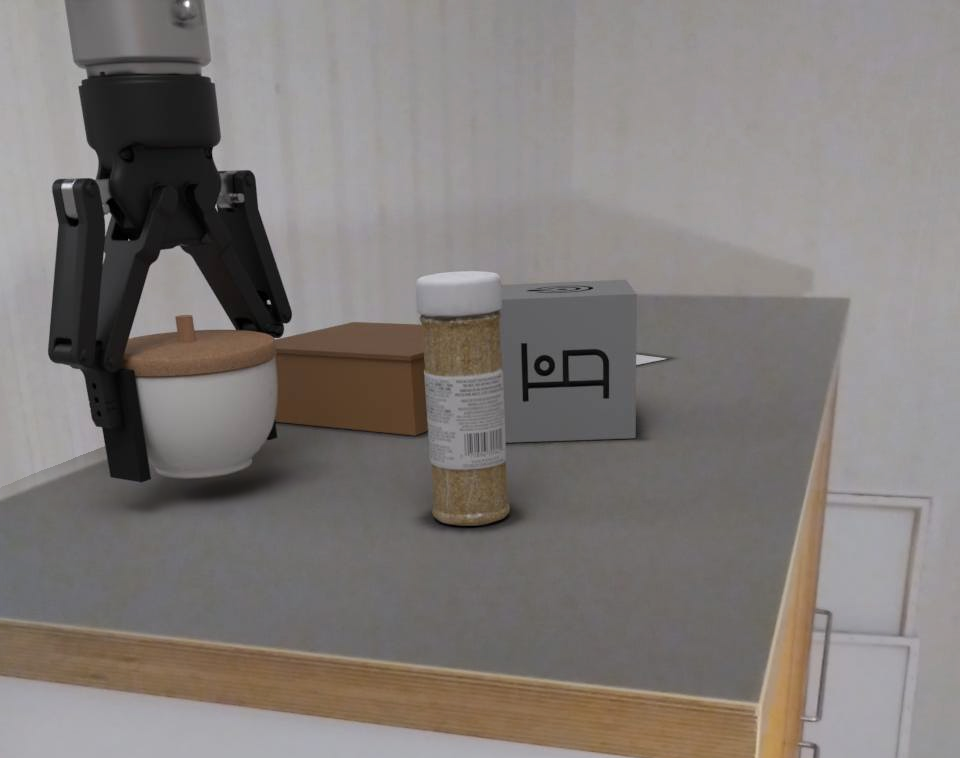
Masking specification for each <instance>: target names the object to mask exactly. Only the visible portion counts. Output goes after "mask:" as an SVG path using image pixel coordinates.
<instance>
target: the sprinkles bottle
mask: <svg viewBox="0 0 960 758" xmlns="http://www.w3.org/2000/svg"><path fill="white" fill-rule="evenodd" d="M501 278H502V277H501V276H500V275H499V274H498V273H496V272H492V271H482V270H463V271H462V270H460V271H458V270H457V271H447V272H437V273H432V274H427V275H424V276H423V275H422V276H421V277H419V278H417V280H416V281H415V293H416V296H415V297H416V308H417V313H418V314H420V316H419V322H420V324H421V325H422V331H423V332H422V335H423V349H424V362H425V370H424V379H425V394H426V408H427V422H428V431H427V436H428V448H429V449H428V450H429V453H428V454H429V461H430V466H431V477H432V478H431V479H432V495H433V507H432V516H433V517H434V518H435V519H436V520H438V522H441V523H443V524H446V525H452V526H463V527H465V526H467V527H468V526H486V525H489V524H492V523H496V522H498V521H500V520H502V519H504V518H506V517H507V515H508V514H510V510H511V507H510V503H509V500H508V489H507V487H508V484H507V463H506V460H507V445H506V440H505V411H504V387H503V370H502V359H501V341H500V328H499V321H500V317H501V313H500V311H499V310H500V309H501V308H502V290H501V285H502V279H501Z"/></svg>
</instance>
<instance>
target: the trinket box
mask: <svg viewBox="0 0 960 758" xmlns="http://www.w3.org/2000/svg"><path fill="white" fill-rule="evenodd" d="M174 318H175V326H176V331H171V332H170V331H169V332H162V333H161V332H160V333H153V334H146V335H140V336H133V337H129V339H128V342H127V346H126V349H125V353H124V356H123V359H122V363H121V366H120V368H119V369H130V370H134V373H135V379H136V386H137V392H138V399H139V405H140V411H141V418H142V424H143V431H144V437H145V443H146V450H147V456H148V463H149V465H151V466H153V467H154V469H155V472H156V473H157V475H160V476H162V477H166V478H172V479H205V478H215V477H220V476H225V475H229V474H234V473H237V472H240V471H242V470H245V469H247V468H249V467H250V466H251V465H252V464H253V457H254V456H255V455H256V454H257V453H258V452H259V451H260V449H262V447H263V446H264V445H265V443H266V441H268V440H267V438H268V436H269V434H270V431H271V429H272V427H273V423H274V420H275V416H276V410H277V401H278V380H277V368H276V359H275V356H276V355H277V349H276V341H275V340H276V338H274V337H272V336H271V335H268V334H265V333H261V332H255V331H246V330H236V329H195V324H194V315H192V314H181V315H176V316H175V317H174Z"/></svg>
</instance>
